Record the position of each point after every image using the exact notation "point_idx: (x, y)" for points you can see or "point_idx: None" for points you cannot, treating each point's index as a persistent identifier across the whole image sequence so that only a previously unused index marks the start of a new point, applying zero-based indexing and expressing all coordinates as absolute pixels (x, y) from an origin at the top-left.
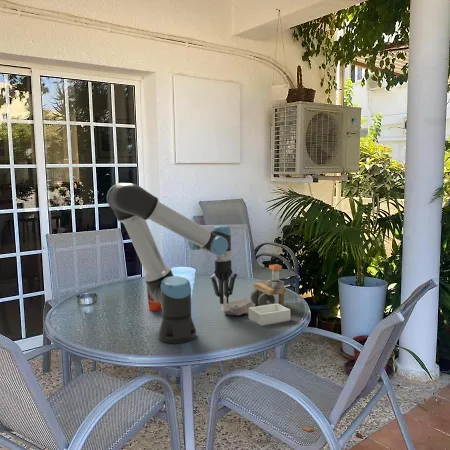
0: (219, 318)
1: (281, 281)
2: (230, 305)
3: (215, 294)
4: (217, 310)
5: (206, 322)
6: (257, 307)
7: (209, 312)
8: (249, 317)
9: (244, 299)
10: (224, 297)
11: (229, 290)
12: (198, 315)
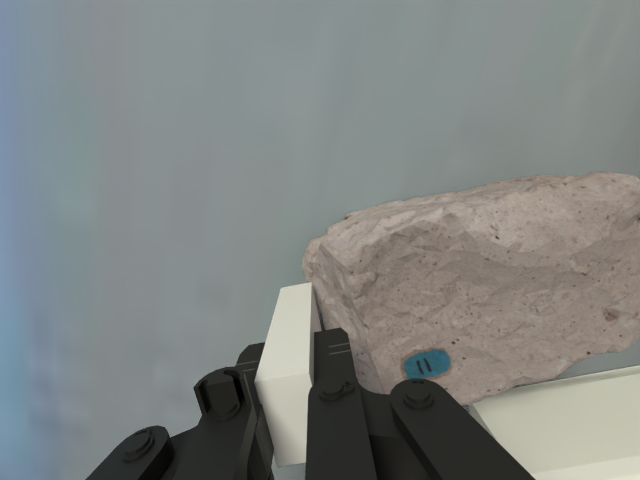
0: (253, 334)
1: None
2: (380, 310)
3: (113, 453)
4: (276, 111)
5: (140, 392)
6: (609, 474)
7: (189, 152)
8: (475, 418)
9: (613, 238)
10: (292, 461)
11: (446, 452)
12: (79, 211)
